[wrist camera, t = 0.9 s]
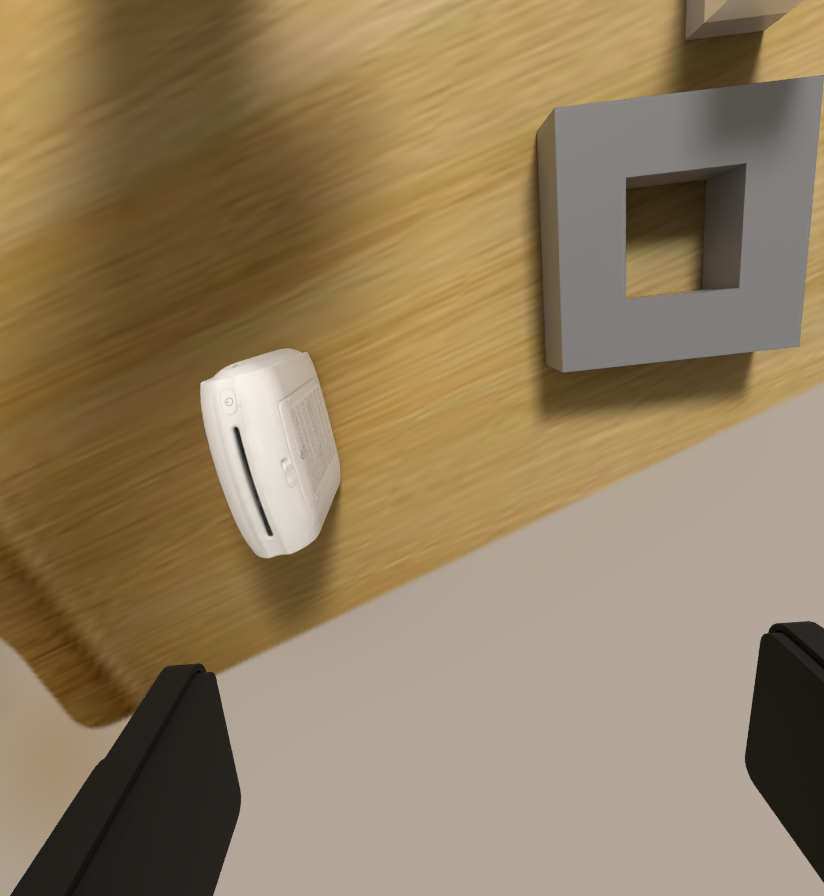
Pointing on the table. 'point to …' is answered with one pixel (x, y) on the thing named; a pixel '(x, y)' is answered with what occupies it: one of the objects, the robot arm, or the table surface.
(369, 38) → the table surface
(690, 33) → the plug
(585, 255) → the socket box
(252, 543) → the photo printer
